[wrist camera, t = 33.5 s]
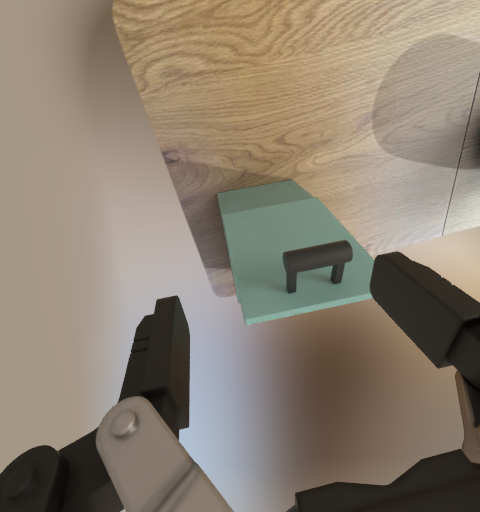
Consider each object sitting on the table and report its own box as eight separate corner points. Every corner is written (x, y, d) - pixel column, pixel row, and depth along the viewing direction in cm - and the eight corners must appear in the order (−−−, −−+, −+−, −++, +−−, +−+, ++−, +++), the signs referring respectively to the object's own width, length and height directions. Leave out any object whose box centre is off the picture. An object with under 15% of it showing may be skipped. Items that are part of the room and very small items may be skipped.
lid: (396, 293, 21) (416, 247, 18) (245, 325, 20) (238, 283, 17) (316, 202, 34) (320, 165, 31) (222, 219, 33) (215, 184, 30)
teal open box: (293, 257, 51) (313, 288, 42) (231, 270, 50) (238, 303, 42) (291, 179, 42) (315, 198, 34) (216, 193, 42) (221, 216, 33)
